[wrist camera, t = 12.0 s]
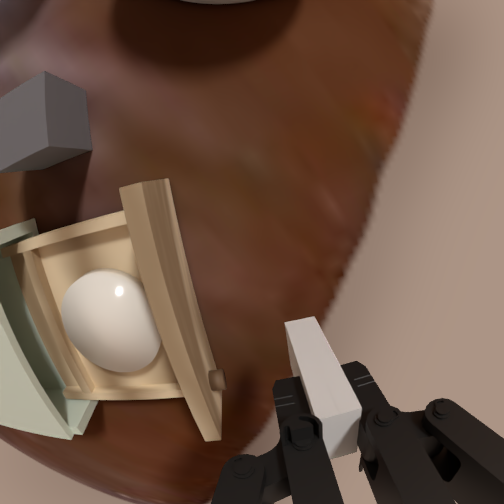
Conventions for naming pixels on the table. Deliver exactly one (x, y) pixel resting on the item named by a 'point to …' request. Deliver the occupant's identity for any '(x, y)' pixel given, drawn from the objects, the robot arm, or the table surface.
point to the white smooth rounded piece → (111, 320)
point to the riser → (42, 124)
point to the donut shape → (217, 1)
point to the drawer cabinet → (31, 361)
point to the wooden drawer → (158, 293)
